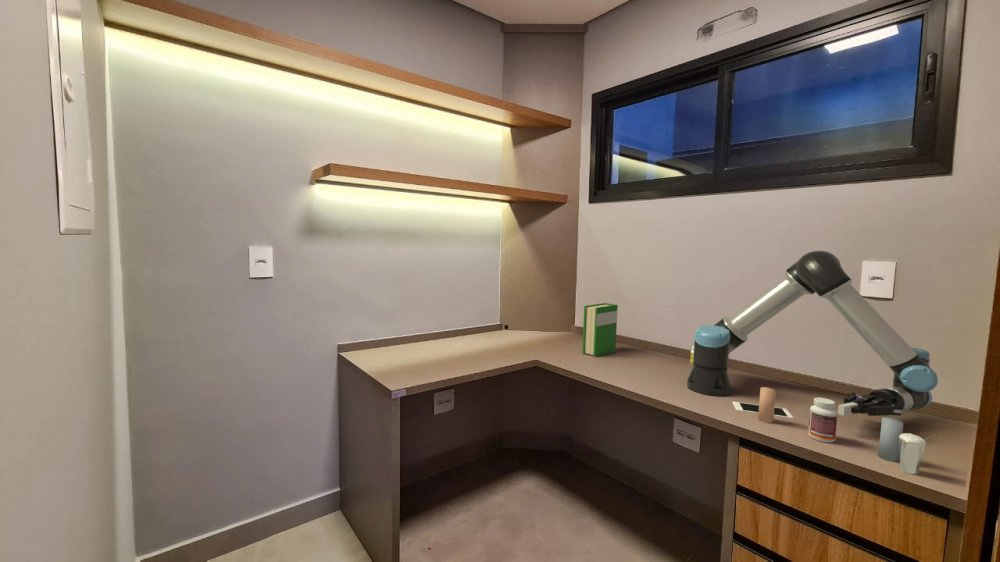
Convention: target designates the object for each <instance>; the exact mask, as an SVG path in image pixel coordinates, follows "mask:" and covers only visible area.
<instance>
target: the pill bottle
mask: <svg viewBox="0 0 1000 562" xmlns="http://www.w3.org/2000/svg"><path fill="white" fill-rule="evenodd" d="M835 407H836V401H834V400H831V399H829V398H825V397H815V398H813V405H811V406H810V407H809V417H808V426H807V427H808V429H807V435H808V436H809V438H812V439H813V440H816V441H818V442H823V443H834V442H835V441H836V436H837V435H836V434H837V426H838V415H839V414H838V410H836V409H835Z"/></svg>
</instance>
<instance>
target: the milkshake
mask: <svg viewBox="0 0 1000 562" xmlns="http://www.w3.org/2000/svg"><path fill="white" fill-rule="evenodd" d="M930 436H931V434H930V433H928V435H927V436H926V437H925V438H924V439H923V437H920V436H919V435H917V434H916V435H915V434H913V433H910V432H909V433H906V432H905V433H902V434H901V435H900V436H899V445H900V460H899V470H901V471H902V472H904V473H907V474H909V475H910V474H911V475H919V472H920V468H921V463H922V459H923V455H924V451H925V448H926V443H927V442H926V441H927V440H928V438H929V437H930Z"/></svg>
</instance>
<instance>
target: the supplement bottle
mask: <svg viewBox="0 0 1000 562" xmlns="http://www.w3.org/2000/svg"><path fill="white" fill-rule="evenodd" d="M693 359H694V345H692V346H691V350H690V357H689V365H690V366H692V367H693Z"/></svg>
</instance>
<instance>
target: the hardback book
mask: <svg viewBox="0 0 1000 562" xmlns="http://www.w3.org/2000/svg"><path fill="white" fill-rule="evenodd" d="M618 305H619V304H615V303H614V304H613V303H606V302H604V303H594V304H589V305H588V304H587V305H584V306H583V324H582V325H583V326H582V327H583V329H582V350H581V351H582V355H587V354H588V355H591V356H592V357H593V358H598V357H600V356H604V355H607V354H611V353H615V352H616V350H617V349H616V347H617V345H616V344H617V328H618V327H617V326H618V324H617V323H618V309H619V308H618Z"/></svg>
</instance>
